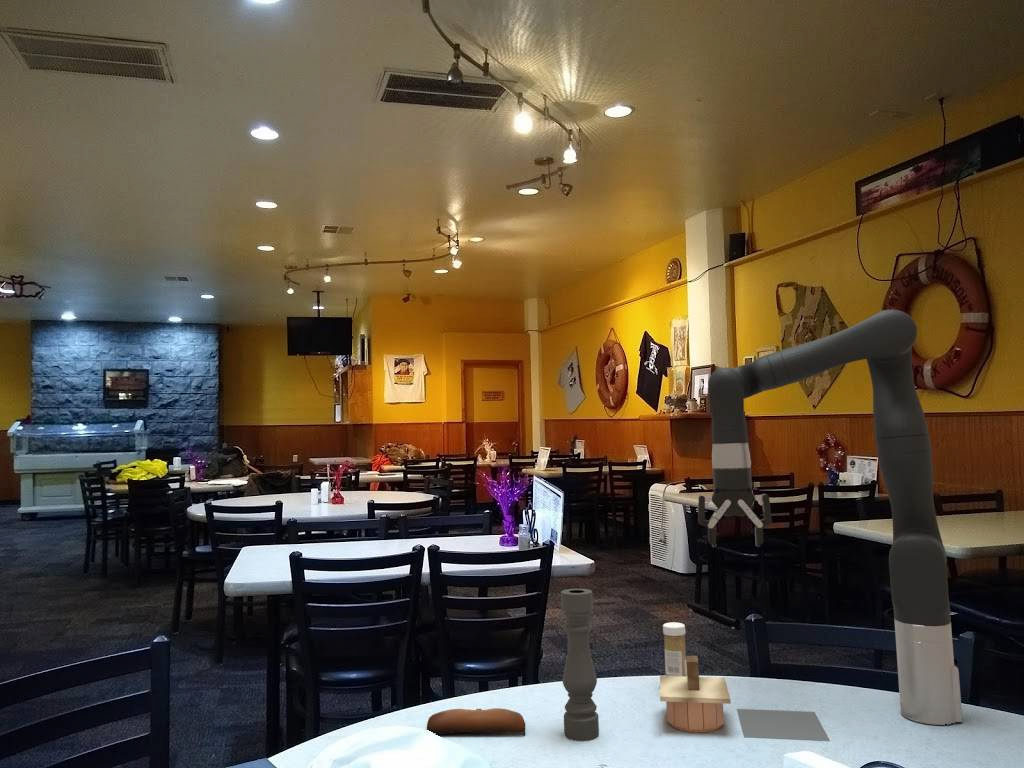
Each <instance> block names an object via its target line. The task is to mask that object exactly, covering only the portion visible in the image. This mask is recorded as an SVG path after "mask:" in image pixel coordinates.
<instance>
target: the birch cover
mask: <svg viewBox="0 0 1024 768" xmlns="http://www.w3.org/2000/svg"><path fill="white" fill-rule="evenodd" d="M686 664H687V677H684V676H666V675H660V676H659V689H660V690H659V700H660V702H666V701H668V702H697V703H723V704H727V705H728V704H731V703H732V701H731V700H732V699H731V697H730V692H729V689H728V684H727V682H726V677H718V676H717V677H716V676H715V677H712V676H700V672H699V669H700V668H699V658H698V655H686Z"/></svg>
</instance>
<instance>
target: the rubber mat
mask: <svg viewBox="0 0 1024 768" xmlns="http://www.w3.org/2000/svg"><path fill="white" fill-rule="evenodd" d="M736 712H737V715H738V718H739V719H738V720H739V723H740V727H741V731H742V733H743V738H747V739H748V738H751V739H766V740H767V739H772V740H791V741H793V740H794V741H811V742H812V741H813V742H814V741H815V742H831V740H830V738H829V736H828V734H827V733H826V731H825V729H824V727H823V725H822V723H821V721H820V719H819V718H818V716H817V714H816V712H815V711H803V710H802V711H800V710H799V711H798V710H777V709H776V710H774V709H771V710H770V709H754V708H753V709H752V708H751V709H748V708H736Z"/></svg>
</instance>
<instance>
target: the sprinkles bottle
mask: <svg viewBox="0 0 1024 768" xmlns="http://www.w3.org/2000/svg"><path fill="white" fill-rule="evenodd" d="M662 633H663V640H664V643H663V644H664V665H665V667H664V668H665V669H664V670H665V676H684V677H687V663H686V656H687V654H686V653H687V652H686V638H685V637H686V625H685V624H684V623H681V622H676V621H675V622H674V621H673V622H666V623H663V625H662Z"/></svg>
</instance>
